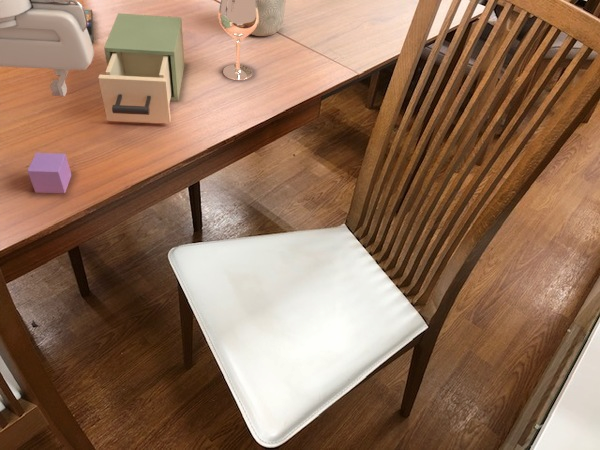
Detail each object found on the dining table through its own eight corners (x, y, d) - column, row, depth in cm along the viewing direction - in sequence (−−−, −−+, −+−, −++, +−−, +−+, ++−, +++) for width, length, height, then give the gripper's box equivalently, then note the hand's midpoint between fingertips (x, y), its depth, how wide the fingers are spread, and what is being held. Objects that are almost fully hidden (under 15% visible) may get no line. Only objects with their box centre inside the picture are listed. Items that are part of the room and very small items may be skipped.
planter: (230, 37, 123) (230, -9, 115) (238, 15, 131) (238, -29, 124) (281, 43, 123) (284, -2, 115) (285, 21, 132) (289, -23, 124)
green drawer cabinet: (178, 101, 102) (174, 51, 94) (113, 98, 100) (103, 47, 92) (184, 64, 112) (181, 17, 104) (125, 61, 110) (118, 13, 103)
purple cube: (35, 192, 80) (27, 170, 77) (43, 174, 83) (35, 152, 80) (65, 193, 81) (58, 171, 77) (71, 175, 84) (65, 153, 80)
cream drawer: (167, 139, 91) (162, 96, 85) (101, 136, 90) (91, 93, 84) (177, 85, 104) (173, 44, 98) (119, 82, 103) (112, 41, 96)
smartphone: (54, 44, 112) (53, 39, 111) (57, 14, 122) (56, 9, 121) (93, 43, 114) (92, 38, 113) (92, 14, 124) (91, 9, 123)
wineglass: (241, 60, 116) (243, -22, 103) (263, 76, 112) (268, -8, 99) (211, 69, 111) (209, -15, 98) (233, 86, 107) (234, 1, 95)
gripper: (87, -15, 63) (107, 84, 73) (-90, -27, 61) (-45, 77, 71) (75, 6, 59) (98, 108, 69) (-116, -6, 57) (-64, 102, 66)
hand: (24, 92), depth 70 cm, fingers open, 8 cm apart
